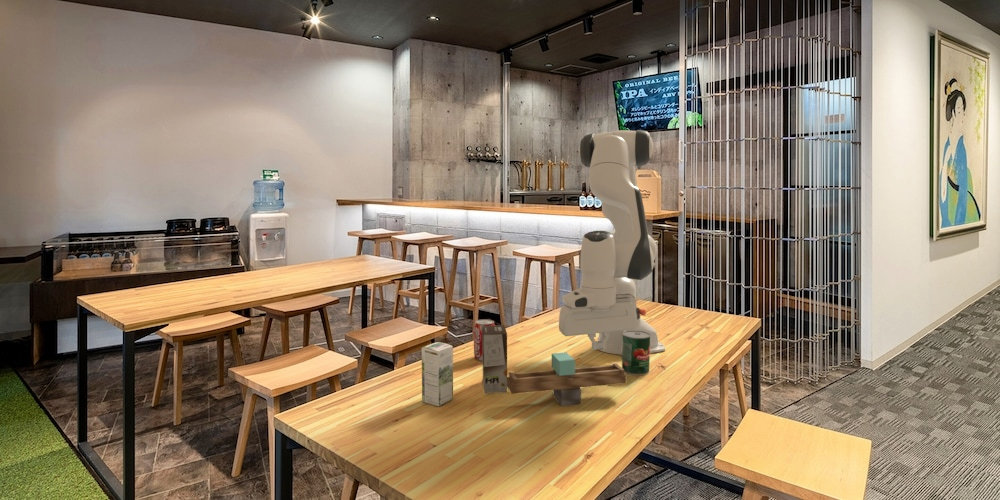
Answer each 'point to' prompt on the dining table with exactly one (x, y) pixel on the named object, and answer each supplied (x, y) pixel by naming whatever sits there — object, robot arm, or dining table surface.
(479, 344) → the soda can
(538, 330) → the dining table surface
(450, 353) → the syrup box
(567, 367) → the block
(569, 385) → the beam
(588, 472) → the dining table surface
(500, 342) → the coffee box
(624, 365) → the canned tomato
